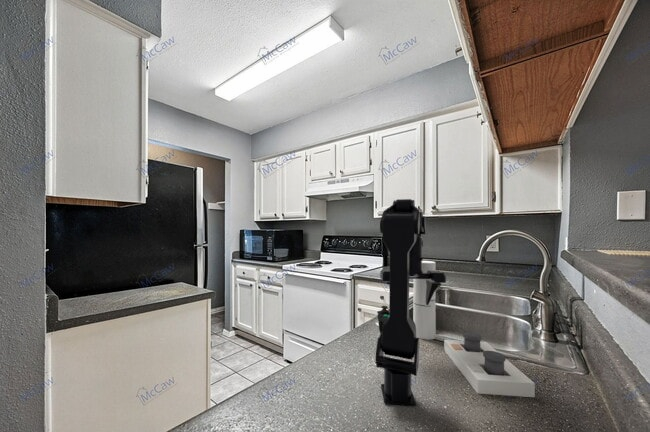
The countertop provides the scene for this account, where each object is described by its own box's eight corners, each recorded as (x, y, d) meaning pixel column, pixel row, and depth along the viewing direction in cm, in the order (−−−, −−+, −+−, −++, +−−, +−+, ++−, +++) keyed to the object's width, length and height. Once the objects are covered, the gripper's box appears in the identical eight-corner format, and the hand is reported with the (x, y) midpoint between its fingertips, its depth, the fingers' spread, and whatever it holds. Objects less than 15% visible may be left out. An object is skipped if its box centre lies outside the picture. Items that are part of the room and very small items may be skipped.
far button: (484, 355, 76) (484, 339, 76) (467, 354, 76) (467, 338, 77) (477, 348, 81) (476, 332, 81) (460, 347, 81) (460, 332, 81)
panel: (534, 397, 61) (534, 382, 61) (477, 393, 62) (477, 378, 62) (485, 352, 83) (485, 341, 83) (444, 349, 84) (444, 339, 84)
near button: (509, 380, 64) (509, 360, 64) (488, 378, 64) (488, 358, 65) (499, 369, 69) (499, 351, 69) (479, 368, 69) (479, 350, 69)
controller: (387, 333, 97) (387, 303, 97) (402, 348, 85) (402, 315, 85) (375, 333, 96) (375, 304, 97) (388, 349, 84) (388, 315, 84)
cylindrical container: (440, 337, 93) (440, 262, 94) (423, 340, 91) (423, 263, 91) (425, 330, 100) (425, 260, 101) (408, 332, 97) (409, 260, 98)
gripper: (434, 251, 94) (433, 298, 93) (378, 250, 95) (377, 296, 94) (446, 254, 83) (446, 308, 82) (383, 253, 84) (382, 305, 83)
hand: (411, 304), depth 86 cm, fingers open, 9 cm apart
